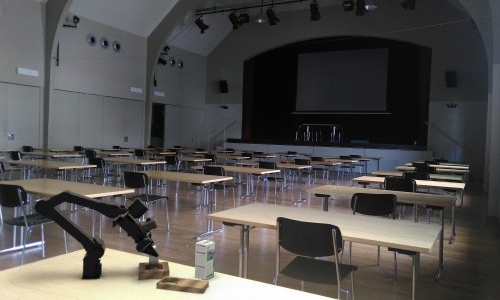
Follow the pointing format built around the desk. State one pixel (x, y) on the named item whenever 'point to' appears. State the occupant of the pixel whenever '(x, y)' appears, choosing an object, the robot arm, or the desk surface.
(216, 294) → the desk surface
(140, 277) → the socket block
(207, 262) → the syrup box
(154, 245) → the axle
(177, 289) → the brown wooden board
